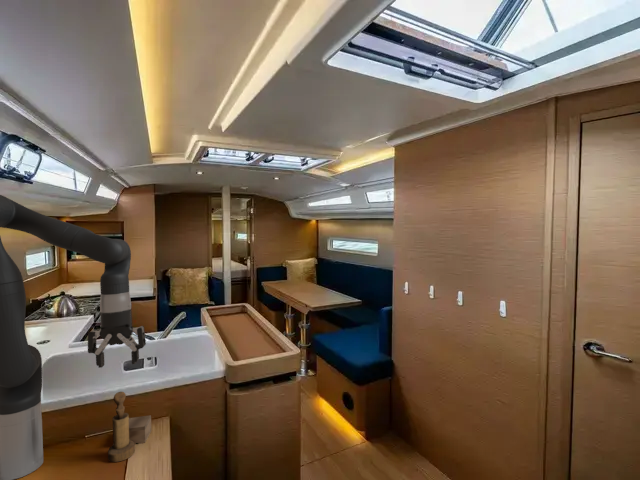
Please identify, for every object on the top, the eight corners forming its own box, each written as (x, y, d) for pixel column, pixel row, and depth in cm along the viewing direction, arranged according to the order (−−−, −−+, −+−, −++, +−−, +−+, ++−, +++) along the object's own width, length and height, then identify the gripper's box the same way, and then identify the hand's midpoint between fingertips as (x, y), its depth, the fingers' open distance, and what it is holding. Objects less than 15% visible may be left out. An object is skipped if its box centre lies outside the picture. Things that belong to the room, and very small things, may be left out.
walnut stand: (116, 447, 100) (115, 430, 100) (124, 434, 106) (123, 418, 106) (145, 442, 101) (144, 426, 101) (151, 430, 108) (150, 415, 108)
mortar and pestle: (139, 447, 99) (137, 387, 99) (127, 461, 93) (125, 397, 93) (116, 448, 99) (114, 388, 99) (103, 463, 93) (100, 398, 92)
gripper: (81, 313, 90) (84, 373, 90) (138, 309, 93) (141, 367, 94) (93, 307, 98) (96, 363, 98) (146, 304, 101) (149, 357, 101)
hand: (118, 364), depth 96 cm, fingers open, 8 cm apart
